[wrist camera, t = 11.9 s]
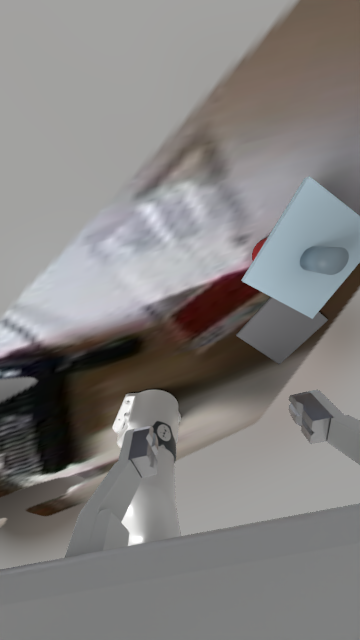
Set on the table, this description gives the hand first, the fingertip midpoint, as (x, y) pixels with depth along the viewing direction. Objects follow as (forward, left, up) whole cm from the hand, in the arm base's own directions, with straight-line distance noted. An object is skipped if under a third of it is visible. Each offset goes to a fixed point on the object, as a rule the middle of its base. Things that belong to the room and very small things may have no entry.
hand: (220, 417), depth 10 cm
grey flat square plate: (+6, -26, -31) cm, 41 cm away
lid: (+16, -10, -19) cm, 27 cm away
